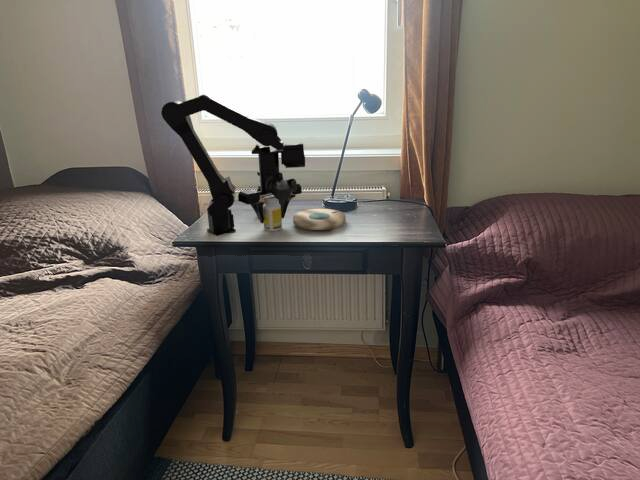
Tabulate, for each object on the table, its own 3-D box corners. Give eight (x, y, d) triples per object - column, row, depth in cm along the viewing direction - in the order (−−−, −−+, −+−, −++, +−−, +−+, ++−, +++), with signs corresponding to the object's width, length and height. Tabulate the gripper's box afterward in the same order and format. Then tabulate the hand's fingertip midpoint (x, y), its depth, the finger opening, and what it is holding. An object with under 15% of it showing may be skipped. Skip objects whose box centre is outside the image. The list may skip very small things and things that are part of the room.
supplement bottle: (283, 225, 140) (281, 194, 137) (280, 231, 135) (278, 199, 132) (266, 225, 141) (263, 194, 137) (262, 231, 136) (259, 199, 132)
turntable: (314, 236, 130) (314, 228, 129) (283, 223, 142) (282, 215, 141) (356, 224, 139) (356, 216, 138) (323, 212, 151) (323, 205, 150)
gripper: (255, 178, 120) (259, 234, 126) (312, 168, 131) (313, 220, 136) (235, 171, 128) (239, 224, 134) (290, 162, 139) (292, 212, 145)
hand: (272, 220), depth 137 cm, fingers open, 7 cm apart
